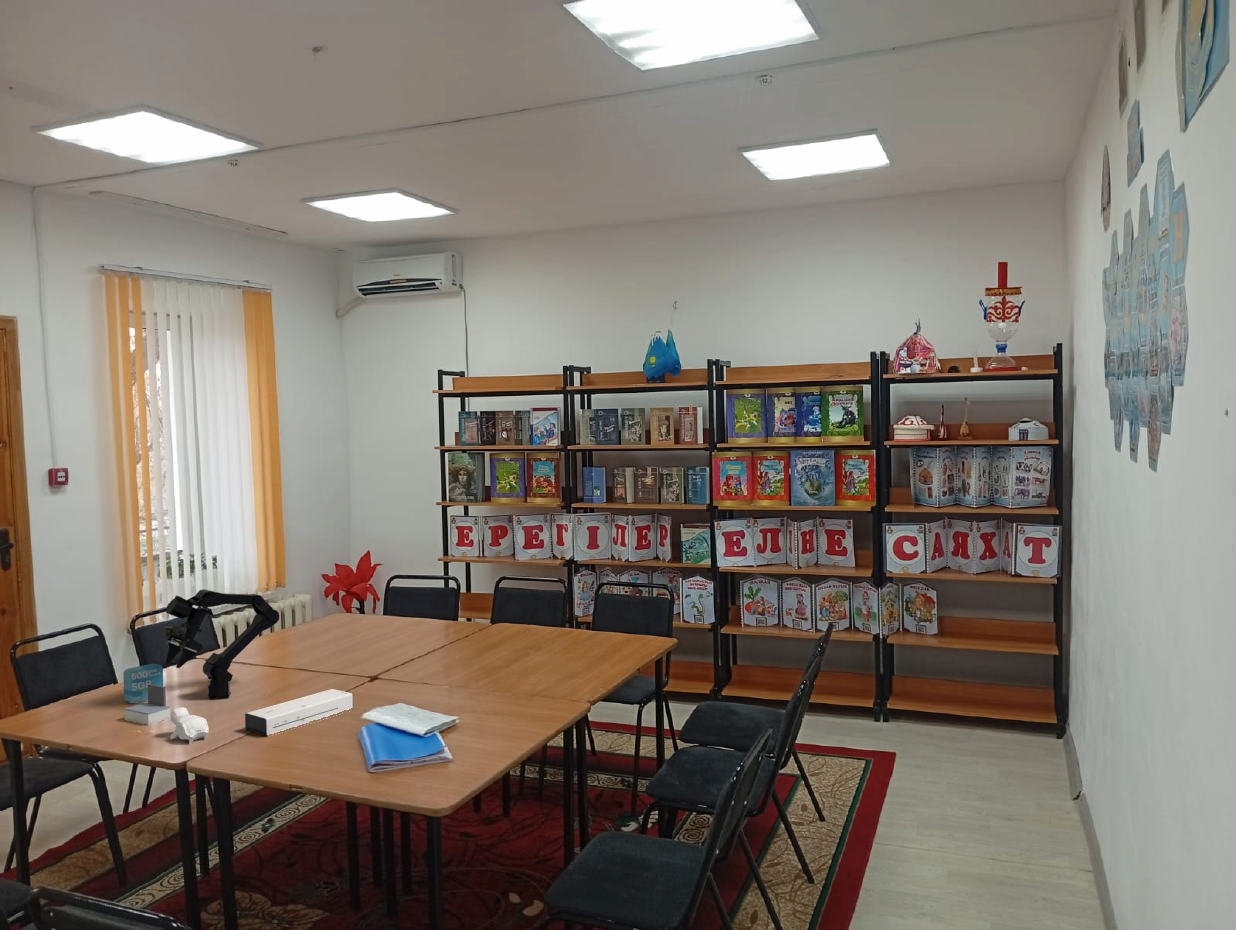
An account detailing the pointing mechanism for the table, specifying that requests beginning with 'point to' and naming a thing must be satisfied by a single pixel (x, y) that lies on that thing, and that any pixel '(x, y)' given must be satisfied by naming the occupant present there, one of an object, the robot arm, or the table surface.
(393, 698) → the table surface
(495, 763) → the table surface
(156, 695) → the carton lid
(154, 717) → the carton
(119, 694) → the table surface
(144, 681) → the data package
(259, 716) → the laminator
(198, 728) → the white animal figurine
